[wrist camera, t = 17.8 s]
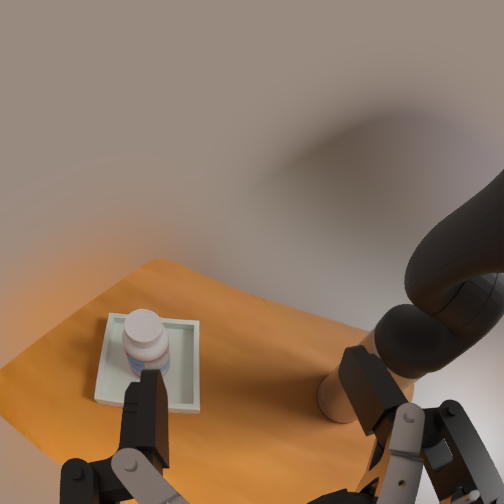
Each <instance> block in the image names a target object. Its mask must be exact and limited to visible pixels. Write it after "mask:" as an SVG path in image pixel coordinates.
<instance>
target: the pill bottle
mask: <svg viewBox="0 0 504 504" xmlns="http://www.w3.org/2000/svg"><path fill="white" fill-rule="evenodd" d="M122 343H123V347H124V350H125V353H126V356H127V359H128V362H129V365H130V368H131V370H132V372H133V373H134V374H135V375H136V376H137V377H138V378H140V376H141V371H142V369H160V371H161V374H162V377H163V376H164V375H165V374H166V373H167V372H168V370H169V367H170V354H169V337H168V333H167V330H166V329H165V327H164V326H163V325H162V322H161V319H160V317H159V316H158V315H157V314H156V313H155V312H153V311H151V310H148V309H138V310H135V311H133V312H131V313H130V314H129V315H128V316H127V317H126V319H125V322H124V331H123V334H122Z"/></svg>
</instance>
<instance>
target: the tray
mask: <svg viewBox="0 0 504 504" xmlns="http://www.w3.org/2000/svg"><path fill="white" fill-rule="evenodd" d="M127 316H128V315H127V314H118V313H110V312H109V316H108V321H107V326H106V330H105V335H104V340H103V345H102V351H101V356H100V362H99V368H98V374H97V381H96V388H95V396H94V399H95V400H96V401H97V403H98V404H102V405H108V406H115V407H121V408H123V405H124V396H125V391H126V389H127V388H128V386H129V384H130V383H131V382H140V378H138V377H137V376H136V375H135V374H134V373H133V372H132V370H131V368H130V365H129V362H128V359H127V356H126V353H125V350H124V347H123V343H122V334H123V331H124V322H125V319H126V317H127ZM160 319H161V322H162V325H163V326H164V327H165V329H166V330H167V333H168V337H169V354H170V367H169V370H168V372H167V373H166V374H165V375H164V376H163V381H164V384H165V387H166V390H167V395H168V413H182V414H199V413H200V387H199V321H195V320H181V319H168V318H160Z"/></svg>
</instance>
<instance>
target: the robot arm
mask: <svg viewBox="0 0 504 504" xmlns="http://www.w3.org/2000/svg"><path fill="white" fill-rule="evenodd" d="M404 284H405V291H406V294H407V296H408V298H409V299H410V300H411V302H412V303H413V304H414V305H411V304H402V305H398V306H395V307H393V308H392V309H390V310H389V311H388V312H387V313H386V314H385V315H384V316H383V317H382V318H381V320H380V321H379V322H378V323H377V324H376V325H375V327H374V328H373V329H372V330H371V331H370V332H369V333H368V334H367V336H366V337H365V338H364V339H363V340H362V341H361V342H360V343H359V344H358V345H357V346H352V347H348V348H346V349H345V351H344V354H343V357H342V360H341V363H340V364H339V365H338V366H337V367H336V368H335V369H334V370H333V371H332V372H331V373H330V374H329V375H328V376H327V377H326V378H325V379H324V380H323V381H322V383H321V384H320V386H319V389H318V394H317V398H318V403H319V406H320V408H321V410H322V412H323V413H324V414H325V415H326V416H327V417H328V418H329V419H331V420H333V421H335V422H338V423H350V422H353V421H355V420H357V419H358V420H359V422H360V424H361V426H362V428H363V431H364V433H365V435H366V436H369V435H372V434H375V436H376V439H375V442H374V445H373V449H372V452H371V455H370V458H369V462H368V465H367V468H366V471H365V473H364V475H363V477H362V479H361V480H360V482H359V484H358V486H357V489H356V491H355V492H348V491H347V489H346V488H345V489H342V490H339V491H336V492H333V493H329V494H326V495H322V496H321V497H319V498H317V499H315V500H313V501H311V502H309V503H307V504H415V500H416V496H417V492H418V488H419V483H420V479H421V474H422V469H423V464H424V466H425V469H426V471H427V473H428V476H429V478H430V480H431V482H432V485H433V487H434V489H435V492H436V494H437V497H438V499H439V502H440V503H439V504H504V484H503V482H502V479H501V477H500V475H499V473H498V471H497V469H496V467H495V465H494V463H493V461H492V459H491V458H490V455H489V453H488V451H487V450H486V448H485V446H484V444H483V442H482V440H481V439H480V437H479V435H478V433H477V431H476V429H475V428H474V426H473V424H472V423H471V421H470V419H469V417H468V416H467V414H466V412H465V411H464V409H463V407H462V406H461V405H460V404H459V403H458V402H457V401H454V400H446V401H444V402H443V403H442V404H441V405H440V406H439V407H437V408H428V409H427V408H426V409H422V408H421V407H419V406H418V405H416V404H414V403H409V402H408V401H407V399H406V398H405V396H404V394H403V393H402V391H404V390H405V389H406V388H408V387H409V386H411V385H412V384H413V383H415V382H416V381H417V380H419V379H420V378H421V377H423V376H424V375H426V374H427V373H430V372H435V371H438V370H440V369H442V368H443V367H445V366H446V365H448V364H449V363H450V362H452V361H453V360H454V359H456V358H457V357H459V356H460V355H461V354H463V353H464V352H465V351H467V350H468V349H469V348H471V347H472V346H473V345H474V344H476V343H477V342H478V341H479V340H480V339H482V338H483V337H484V336H485V335H486V334H487V333H488V332H489V331H490V330H491V329H492V328H493V327H494V326H495V325H496V324H497V323H498V321H499V320H500V319H501V317H502V316H503V315H504V170H503V171H502V172H501V173H500V174H499V175H498V176H497V177H496V178H495V179H494V180H493V181H492V182H490V184H488V185H487V186H486V187H485V188H484V189H483V190H481V191H480V192H479V193H477V194H476V195H475V196H474V197H472V198H471V199H470V200H469V201H467V202H466V203H465V204H463V205H462V206H461V207H459V208H458V209H457V210H455V211H454V212H453V213H451V214H450V215H448V216H447V217H446V218H445V219H443V220H442V221H441V222H439V223H438V224H437V225H436V226H435V227H434V228H433V229H432V230H431V231H430V232H429V233H428V234H427V235H426V236H425V237H424V239H423V240H422V241H421V243H420V244H419V245H418V247H417V248H416V250H415V251H414V253H413V255H412V257H411V258H410V260H409V263H408V266H407V268H406V273H405V280H404ZM444 439H445V440H444ZM445 441H446V442H445ZM446 443H447V444H446ZM447 445H448V446H447ZM448 447H449V448H448ZM449 449H450V450H449ZM450 451H451V452H450ZM451 453H452V454H451ZM163 468H169V442H168V395H167V390H166V387H165V384H164V381H163V377H162V374H161V371H160V369H142V371H141V376H140V382H131V383H130V384H129V386H128V388H127V389H126V391H125V396H124V405H123V413H122V422H121V432H120V443H119V448H118V450H117V451H116V453H115V454H114V455H113V456H111V457H110V458H108V459H105V460H100V461H95V462H90V463H87V462H86V461H84V460H82V459H79V458H73V459H69V460H68V461H66V462H65V463H64V464H63V466H62V469H61V480H60V504H120V501H125V500H130V499H135V500H136V501H137V502H138V503H139V504H190V503H189V502H188V501H186V500H185V499H184V498H183V497H182V496H181V495H180V494H179V493H178V492H177V491H176V490H175V489H174V488H173V487H172V486H171V485H170V484H169V483H168V482H167V481H166V480H165V479H164V478H163Z"/></svg>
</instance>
